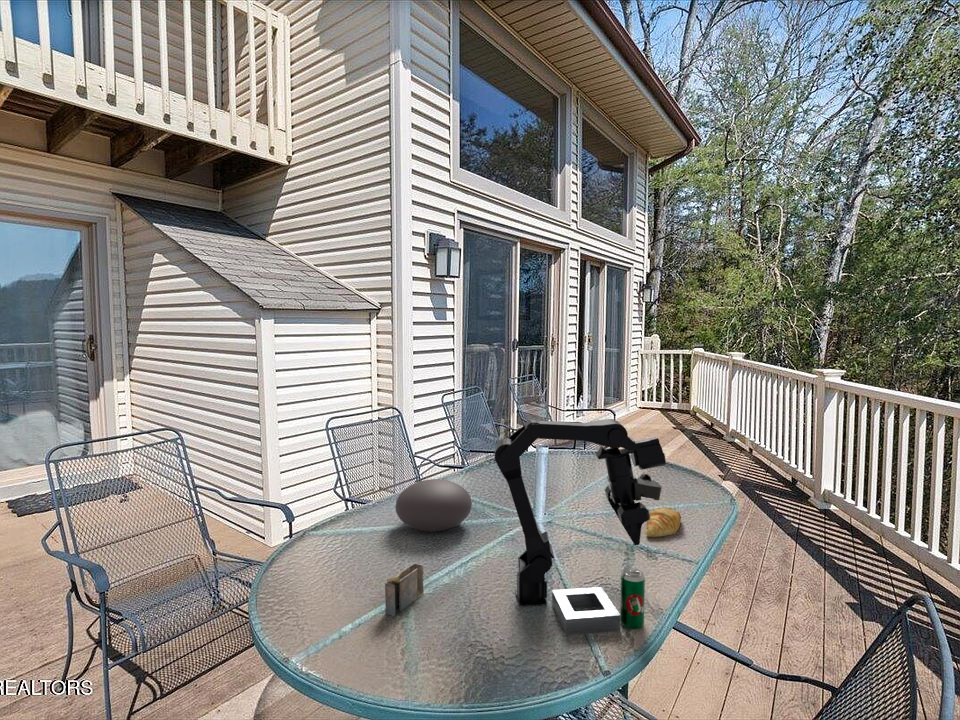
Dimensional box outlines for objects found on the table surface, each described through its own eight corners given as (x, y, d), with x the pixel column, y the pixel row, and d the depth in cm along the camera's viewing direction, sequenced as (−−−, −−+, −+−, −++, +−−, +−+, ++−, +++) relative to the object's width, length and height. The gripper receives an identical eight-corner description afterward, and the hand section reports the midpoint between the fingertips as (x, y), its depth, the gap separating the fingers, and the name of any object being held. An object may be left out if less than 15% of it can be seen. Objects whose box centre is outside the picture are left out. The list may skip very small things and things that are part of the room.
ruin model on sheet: (396, 618, 118) (395, 577, 117) (385, 615, 120) (384, 574, 119) (425, 595, 128) (424, 557, 127) (415, 592, 129) (414, 554, 129)
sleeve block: (566, 634, 111) (566, 619, 111) (552, 604, 123) (552, 590, 123) (620, 630, 112) (620, 615, 112) (601, 600, 124) (601, 586, 124)
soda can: (625, 615, 118) (626, 564, 117) (647, 623, 115) (648, 571, 114) (616, 625, 114) (617, 572, 113) (638, 634, 111) (639, 580, 110)
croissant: (656, 553, 157) (668, 534, 154) (629, 530, 163) (640, 511, 159) (684, 530, 172) (696, 512, 169) (659, 510, 178) (670, 492, 175)
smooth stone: (487, 525, 170) (487, 480, 169) (430, 550, 152) (429, 500, 151) (437, 507, 187) (436, 466, 186) (380, 527, 169) (379, 483, 167)
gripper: (667, 479, 112) (679, 547, 113) (643, 456, 131) (654, 515, 132) (615, 488, 113) (628, 556, 114) (599, 464, 131) (610, 523, 132)
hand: (632, 536), depth 123 cm, fingers open, 9 cm apart
